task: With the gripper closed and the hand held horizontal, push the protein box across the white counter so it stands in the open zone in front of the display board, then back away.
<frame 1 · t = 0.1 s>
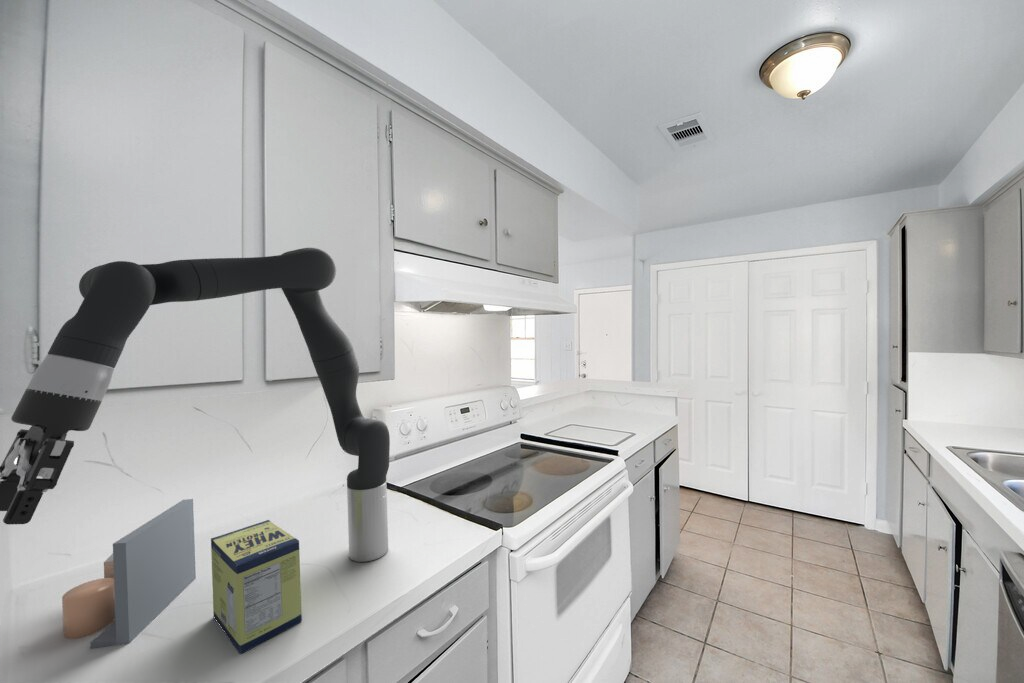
hand: (6, 516, 52), 31 cm above the countertop, tool tilted 20°, fingers open, 8 cm apart
display board: (160, 607, 82), on the countertop
protein box: (257, 620, 78), on the countertop
tea tin: (126, 595, 87), on the countertop
tan rounded cylinder: (90, 625, 78), on the countertop
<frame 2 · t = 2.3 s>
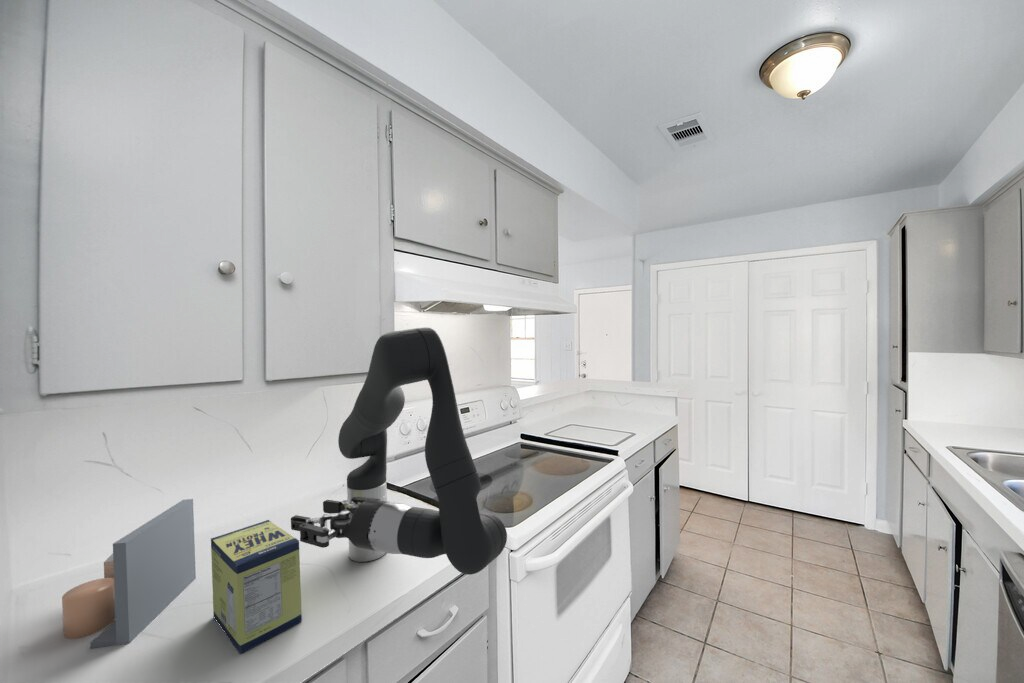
hand: (309, 513, 73), 22 cm above the countertop, tool horizontal, fingers open, 6 cm apart
nothing on the countertop moved.
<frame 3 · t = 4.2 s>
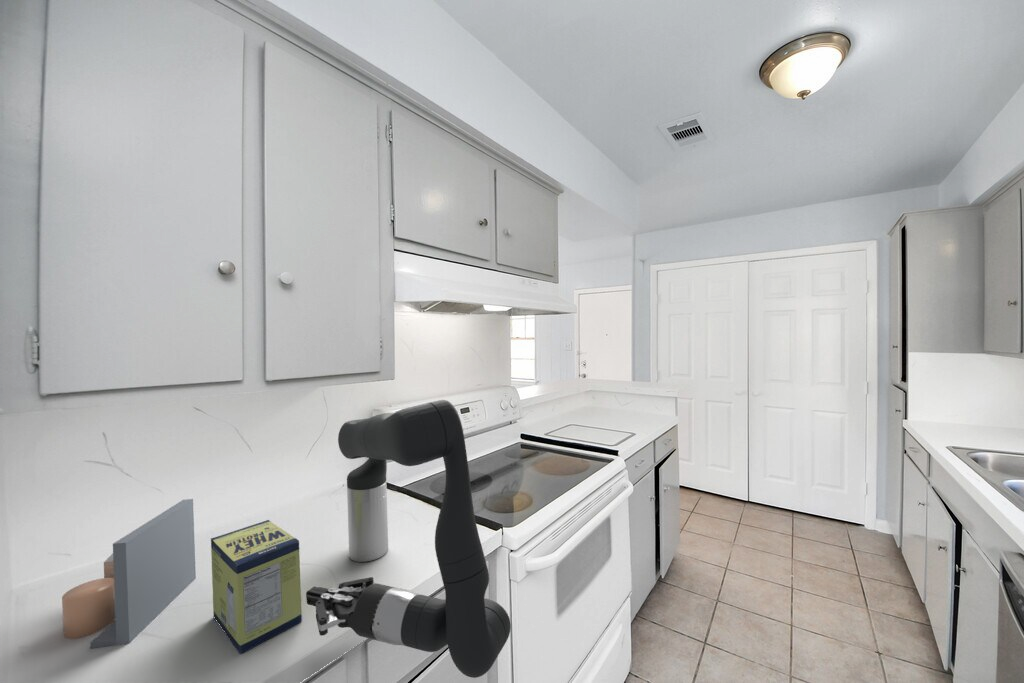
hand: (309, 594, 73), 7 cm above the countertop, tool horizontal, fingers closed
nothing on the countertop moved.
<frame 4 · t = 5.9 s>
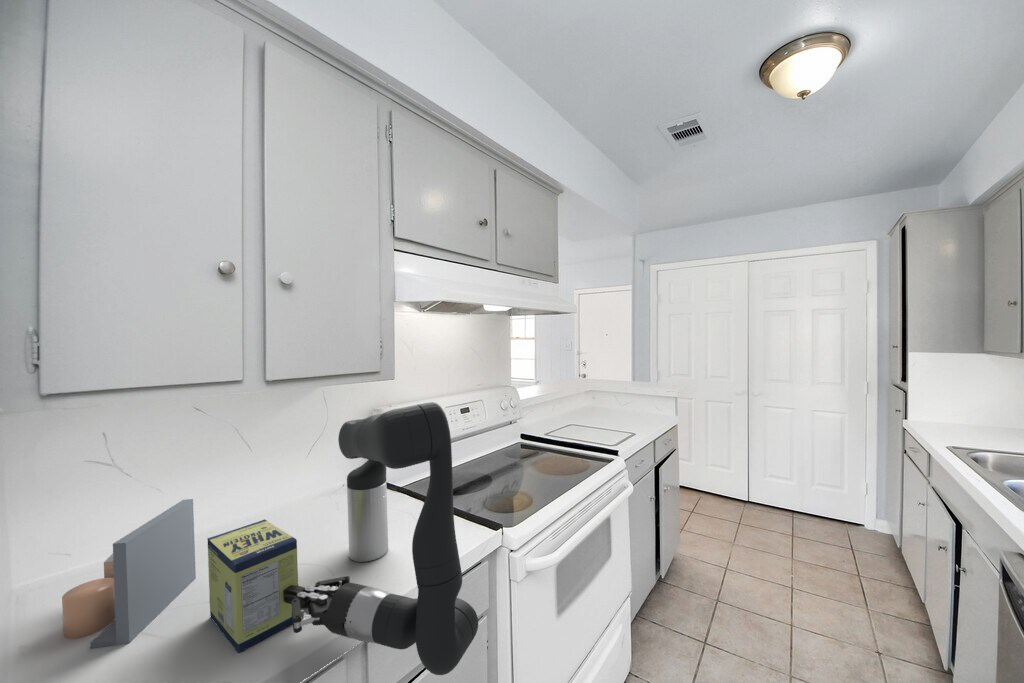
hand: (286, 592, 76), 7 cm above the countertop, tool horizontal, fingers closed
protein box: (254, 620, 78), on the countertop, touching gripper
everything else where it was.
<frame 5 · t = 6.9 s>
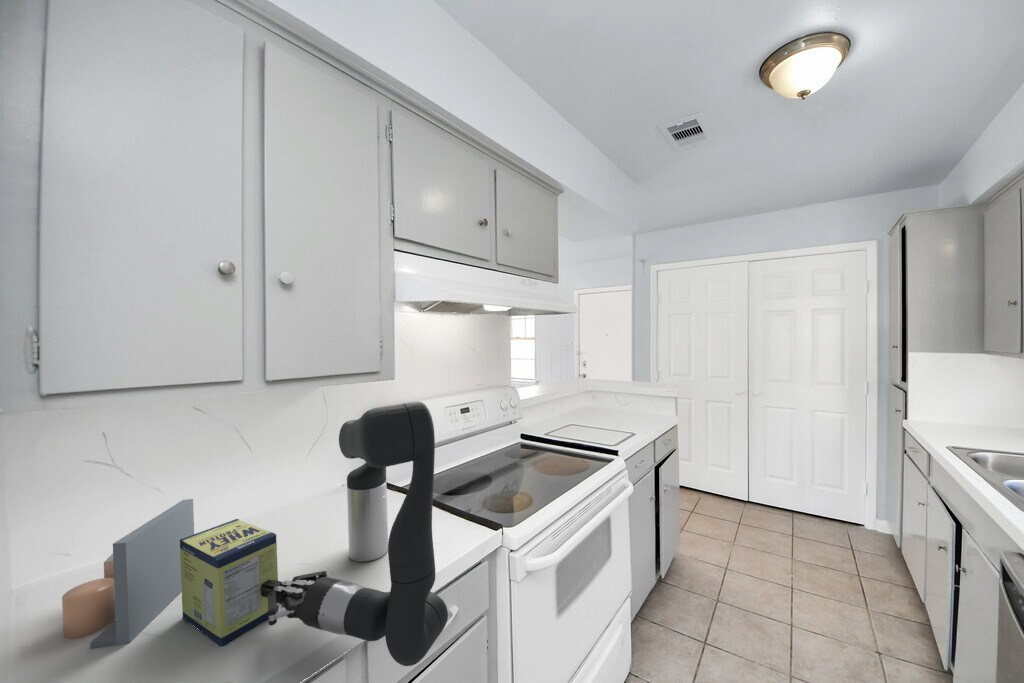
hand: (264, 587, 77), 7 cm above the countertop, tool horizontal, fingers closed
protein box: (231, 616, 79), on the countertop, touching gripper
everything else where it was.
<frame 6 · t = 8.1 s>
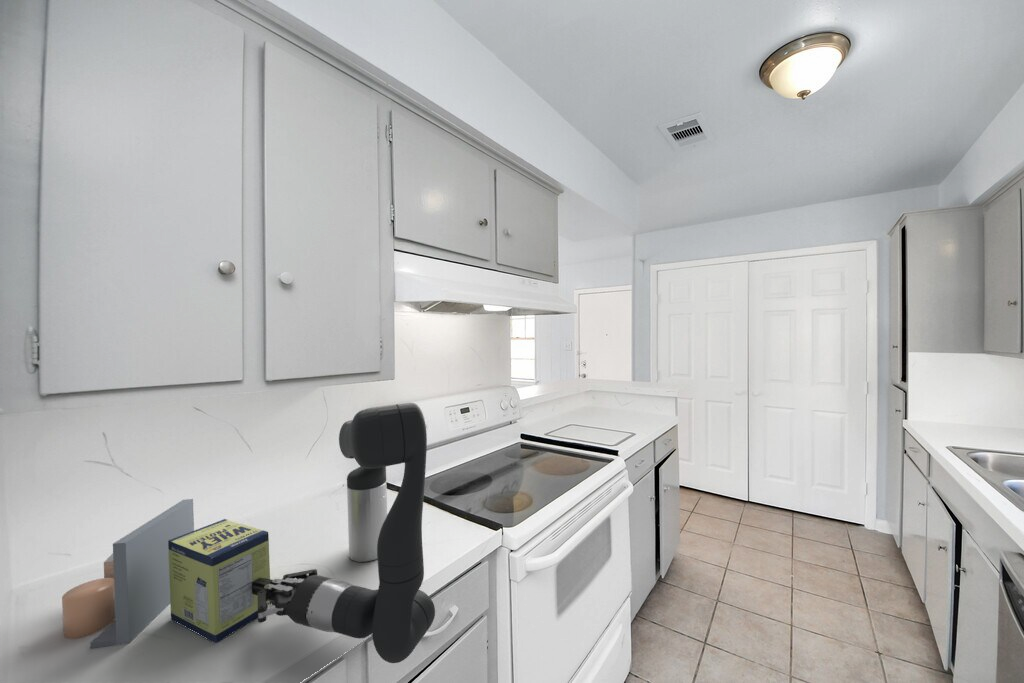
hand: (255, 585, 78), 7 cm above the countertop, tool horizontal, fingers closed
protein box: (221, 615, 80), on the countertop, touching gripper
everything else where it was.
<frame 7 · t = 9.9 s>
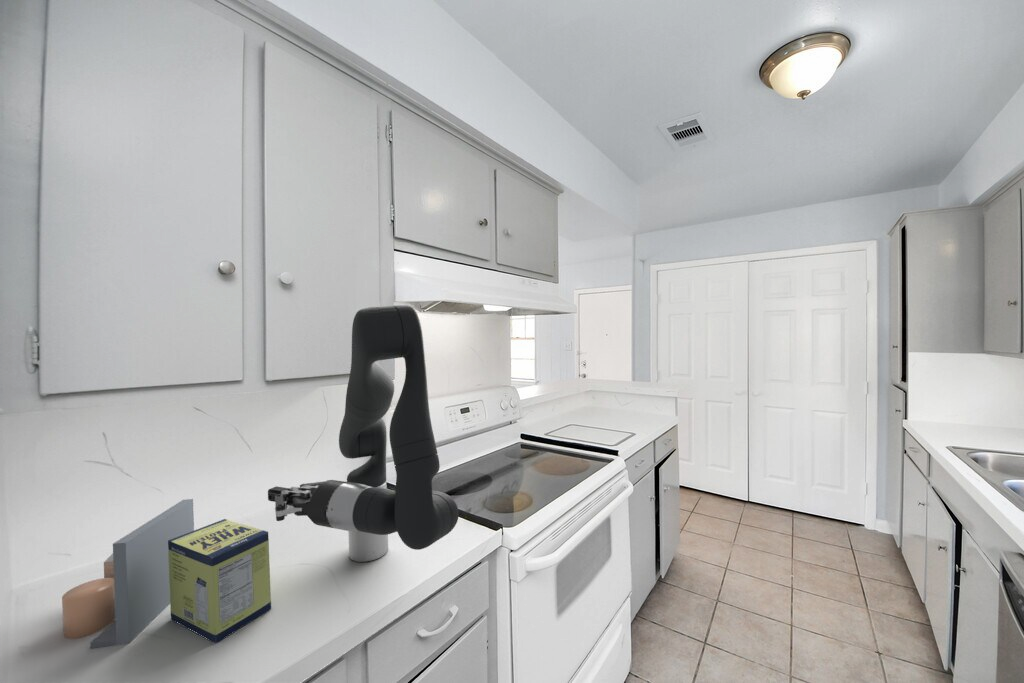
hand: (271, 493, 76), 25 cm above the countertop, tool horizontal, fingers closed
protein box: (221, 615, 80), on the countertop
everything else where it was.
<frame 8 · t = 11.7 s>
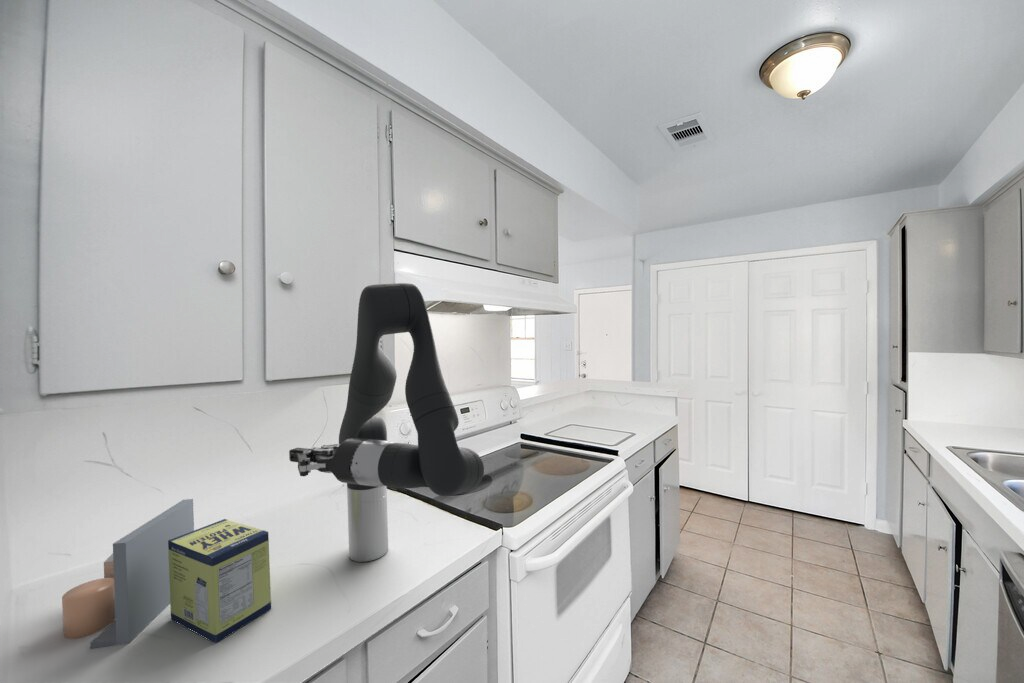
hand: (292, 454, 76), 32 cm above the countertop, tool horizontal, fingers closed
nothing on the countertop moved.
at the end: protein box inside the target area (1.0 cm from its centre), on the countertop; protein box tilted 0°; protein box moved 8.3 cm from its start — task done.
